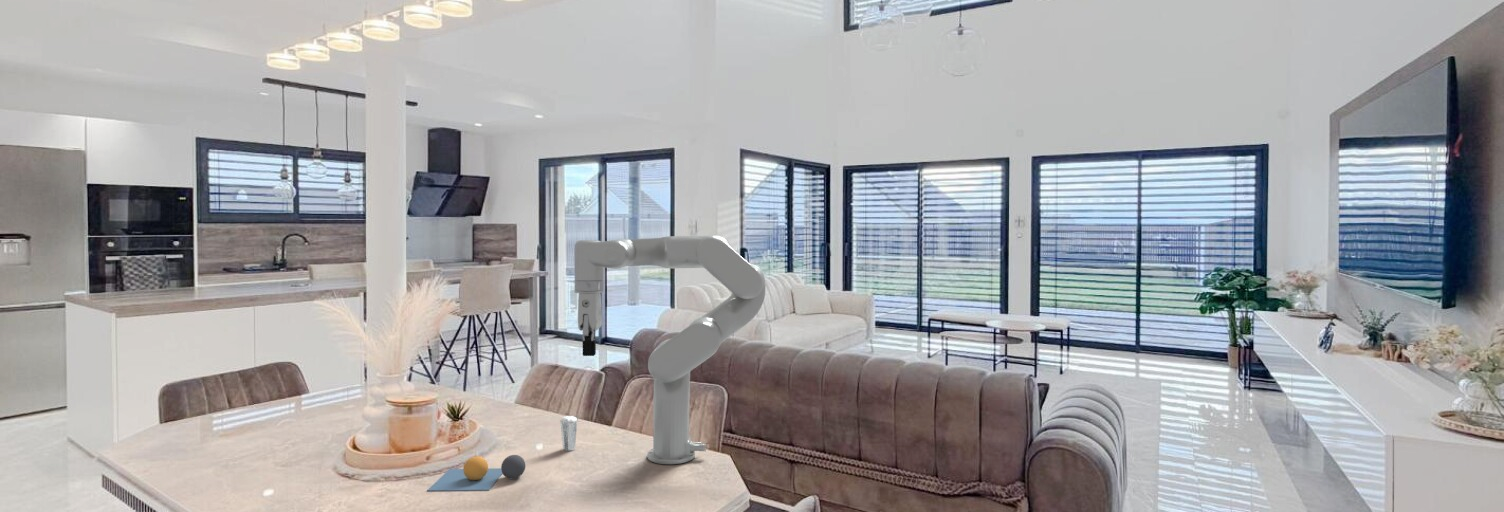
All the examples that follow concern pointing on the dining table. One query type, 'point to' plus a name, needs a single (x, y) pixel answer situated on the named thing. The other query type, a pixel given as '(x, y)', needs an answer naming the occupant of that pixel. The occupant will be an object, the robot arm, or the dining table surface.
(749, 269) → the robot arm
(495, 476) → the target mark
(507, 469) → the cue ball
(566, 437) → the milkshake
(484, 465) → the object ball
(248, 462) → the dining table surface
